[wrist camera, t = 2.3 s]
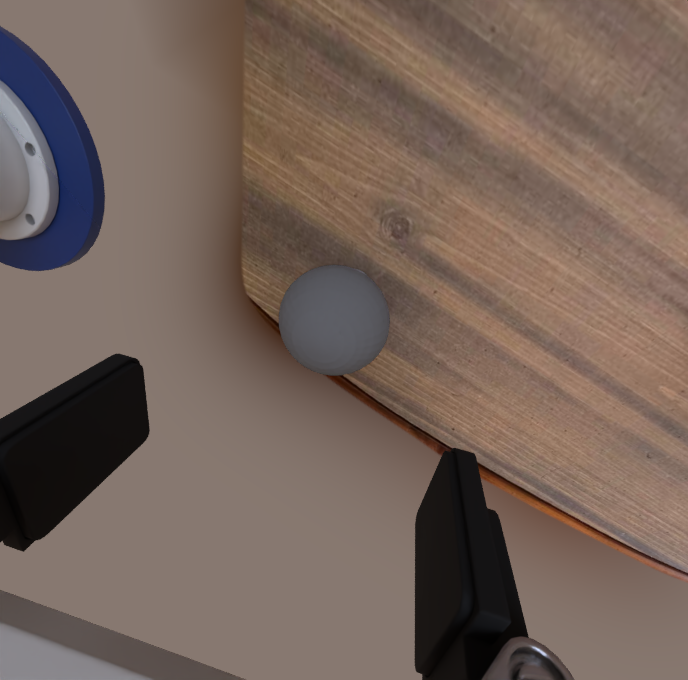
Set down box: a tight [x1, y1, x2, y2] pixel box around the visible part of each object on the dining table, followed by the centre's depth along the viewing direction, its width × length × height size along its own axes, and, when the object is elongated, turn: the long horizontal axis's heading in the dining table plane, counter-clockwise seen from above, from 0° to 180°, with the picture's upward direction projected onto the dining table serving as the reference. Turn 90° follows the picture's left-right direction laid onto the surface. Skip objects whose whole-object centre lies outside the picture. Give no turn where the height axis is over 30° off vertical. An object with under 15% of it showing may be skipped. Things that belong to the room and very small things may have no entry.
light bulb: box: [279, 265, 390, 375], centre depth 20 cm, size 6×6×10 cm
